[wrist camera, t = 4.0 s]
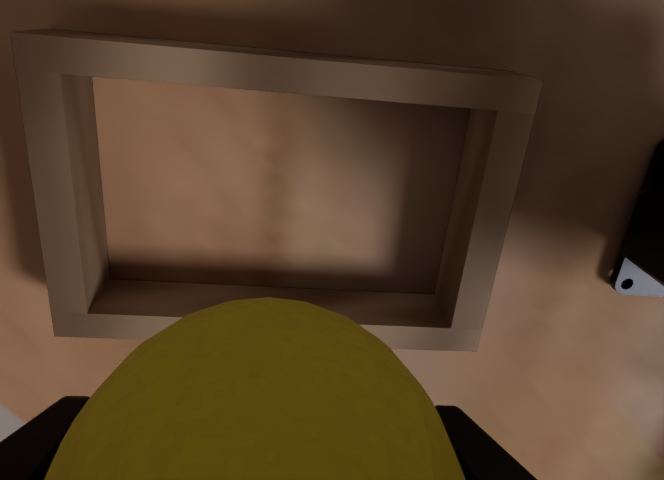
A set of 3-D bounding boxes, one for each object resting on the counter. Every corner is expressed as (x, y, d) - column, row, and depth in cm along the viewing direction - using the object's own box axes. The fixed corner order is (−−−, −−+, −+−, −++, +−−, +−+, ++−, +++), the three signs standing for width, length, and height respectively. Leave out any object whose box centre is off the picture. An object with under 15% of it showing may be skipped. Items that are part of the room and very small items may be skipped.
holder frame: (511, 71, 18) (543, 80, 16) (457, 316, 22) (476, 351, 20) (48, 29, 17) (10, 32, 14) (80, 300, 21) (54, 336, 18)
